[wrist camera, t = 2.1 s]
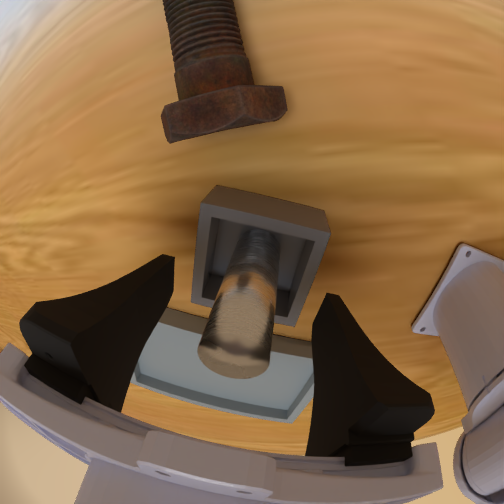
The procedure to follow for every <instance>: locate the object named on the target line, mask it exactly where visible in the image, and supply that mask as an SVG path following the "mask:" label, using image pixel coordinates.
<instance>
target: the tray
mask: <svg viewBox="0 0 504 504" xmlns="http://www.w3.org/2000/svg"><path fill="white" fill-rule="evenodd" d="M207 321H208V319H206V318H202V317H198V316H195V315H191V314H187V313H184V312H180V311H177V310H173V309H170V308H166V309H165V311H164V313H163V315H162V316H161V318H160V320H159V322H158V323H157V325H156V327H155V328H154V330H153V332H152V333H151V335H150V337H149V339H148V340H147V342H146V344H145V346H144V348H143V350H142V353H141V355H140V357H139V360H138V362H137V365H136V367H135V370H134V373H133V376H132V378H131V383H133V384H135V385H138V386H141V387H143V388H146V389H149V390H152V391H155V392H157V393H160V394H163V395H166V396H169V397H173V398H176V399H179V400H182V401H186V402H189V403H193V404H196V405H200V406H204V407H208V408H211V409H216V410H220V411H224V412H228V413H233V414H238V415H243V416H248V417H253V418H259V419H264V420H271V421H277V422H284V423H293V422H294V420H295V419H296V418H297V417H298V416H299V414H300V413H301V412H302V411H303V409H304V408H305V407H306V406H307V404H308V403H309V402H310V400H311V399H312V398H313V396H314V373H313V358H312V343H311V342H309V341H304V340H298V339H293V338H288V337H283V336H278V335H273V337H272V346H271V356H270V364H269V367H268V369H267V370H266V371H265V372H264V373H263V374H261V375H259V376H257V377H254V378H249V379H234V378H228V377H225V376H222V375H219V374H217V373H215V372H213V371H211V370H210V369H208V368H207V367H206V366H205V365H204V364H203V363H202V362H201V360H200V359H199V356H198V353H197V349H198V345H199V342H200V340H201V337H202V334H203V332H204V329H205V326H206V323H207Z"/></svg>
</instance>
